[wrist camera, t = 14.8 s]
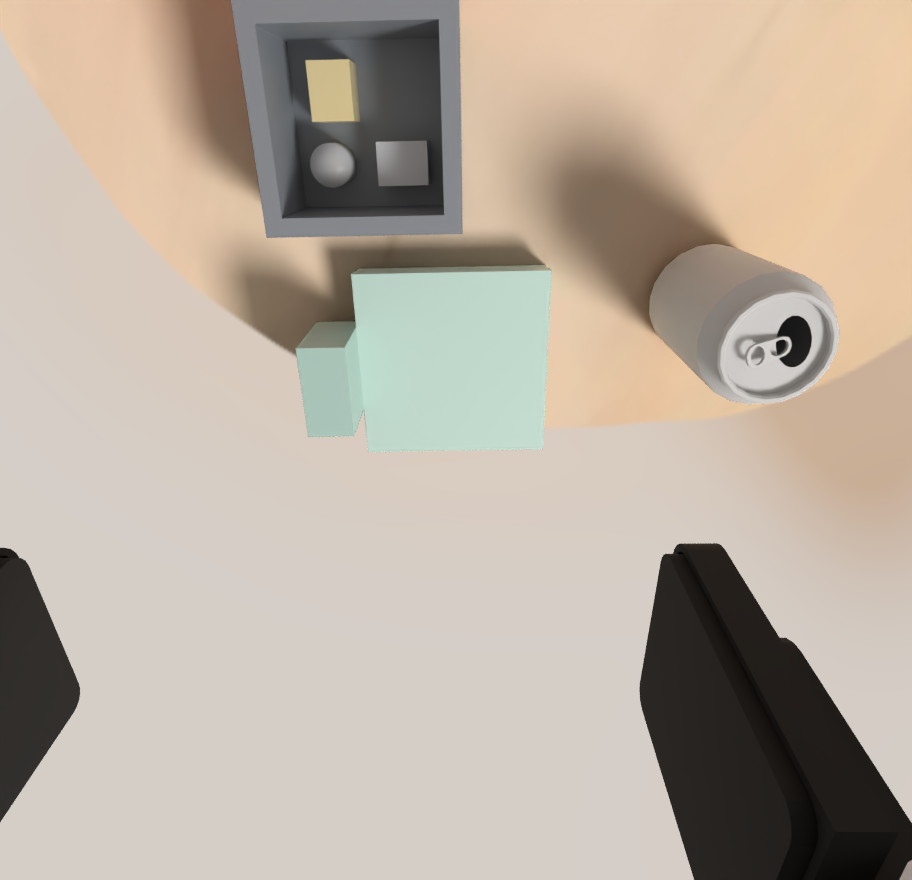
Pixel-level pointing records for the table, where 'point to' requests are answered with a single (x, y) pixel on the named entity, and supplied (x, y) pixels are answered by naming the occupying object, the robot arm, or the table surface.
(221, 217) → the table surface
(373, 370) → the mint green stepped block
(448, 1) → the tub
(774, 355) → the can
